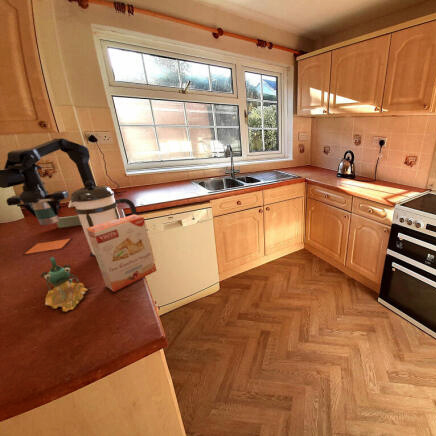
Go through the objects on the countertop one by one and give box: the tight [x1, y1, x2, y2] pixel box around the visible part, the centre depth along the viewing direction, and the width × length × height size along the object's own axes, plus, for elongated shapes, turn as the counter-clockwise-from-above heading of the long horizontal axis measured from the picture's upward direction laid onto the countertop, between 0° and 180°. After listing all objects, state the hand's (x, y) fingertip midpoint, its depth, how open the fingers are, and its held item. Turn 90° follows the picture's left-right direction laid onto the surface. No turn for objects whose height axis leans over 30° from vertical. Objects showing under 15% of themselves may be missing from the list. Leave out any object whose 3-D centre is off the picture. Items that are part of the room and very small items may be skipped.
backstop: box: [55, 214, 82, 229], centre depth 126 cm, size 12×2×5 cm, turn 113°
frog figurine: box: [40, 256, 88, 312], centre depth 72 cm, size 10×18×15 cm, turn 44°
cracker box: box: [86, 214, 157, 293], centre depth 78 cm, size 14×6×21 cm, turn 148°
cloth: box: [24, 238, 71, 255], centre depth 105 cm, size 12×10×1 cm
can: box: [31, 199, 60, 226], centre depth 107 cm, size 6×6×10 cm
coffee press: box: [68, 181, 139, 256], centre depth 95 cm, size 17×16×30 cm
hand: (47, 216), depth 108 cm, fingers closed on can, 6 cm apart
